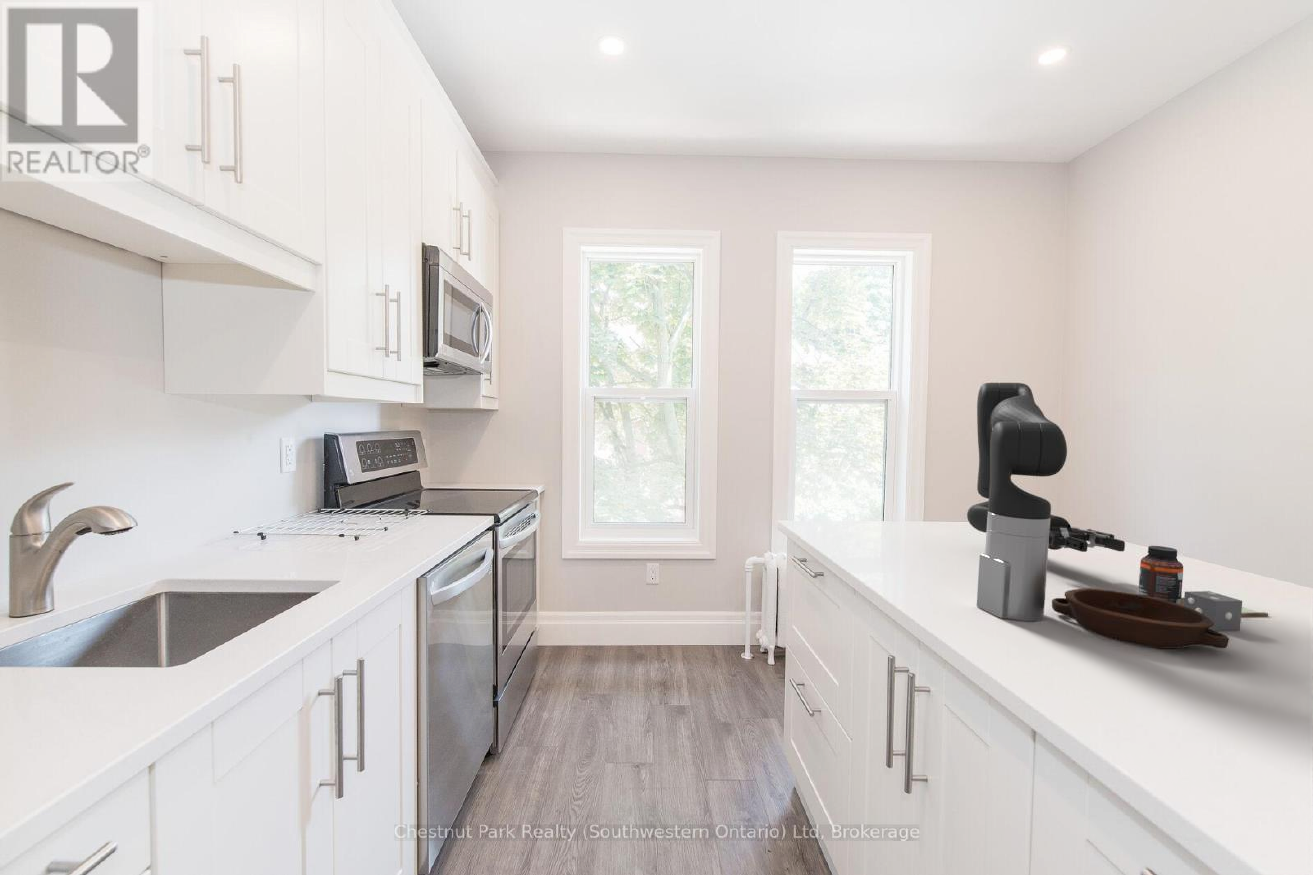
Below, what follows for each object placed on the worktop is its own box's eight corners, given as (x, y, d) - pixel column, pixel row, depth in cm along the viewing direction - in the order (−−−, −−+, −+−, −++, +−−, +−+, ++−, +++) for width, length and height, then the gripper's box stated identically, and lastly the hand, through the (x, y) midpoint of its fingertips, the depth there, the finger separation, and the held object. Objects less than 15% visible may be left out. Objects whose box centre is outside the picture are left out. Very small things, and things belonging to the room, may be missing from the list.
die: (1214, 631, 95) (1216, 600, 95) (1181, 620, 100) (1184, 590, 100) (1240, 630, 96) (1243, 600, 95) (1207, 619, 101) (1209, 590, 101)
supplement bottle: (1189, 615, 103) (1194, 552, 102) (1155, 614, 103) (1160, 551, 102) (1161, 604, 109) (1165, 544, 108) (1128, 602, 109) (1133, 543, 108)
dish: (1227, 674, 79) (1230, 638, 79) (1038, 628, 94) (1040, 597, 94) (1227, 641, 91) (1230, 610, 91) (1060, 605, 107) (1062, 578, 107)
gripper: (1014, 512, 132) (1074, 528, 116) (1069, 512, 134) (1137, 528, 118) (1011, 545, 132) (1072, 565, 116) (1067, 544, 134) (1134, 564, 118)
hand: (1104, 546), depth 117 cm, fingers open, 8 cm apart
